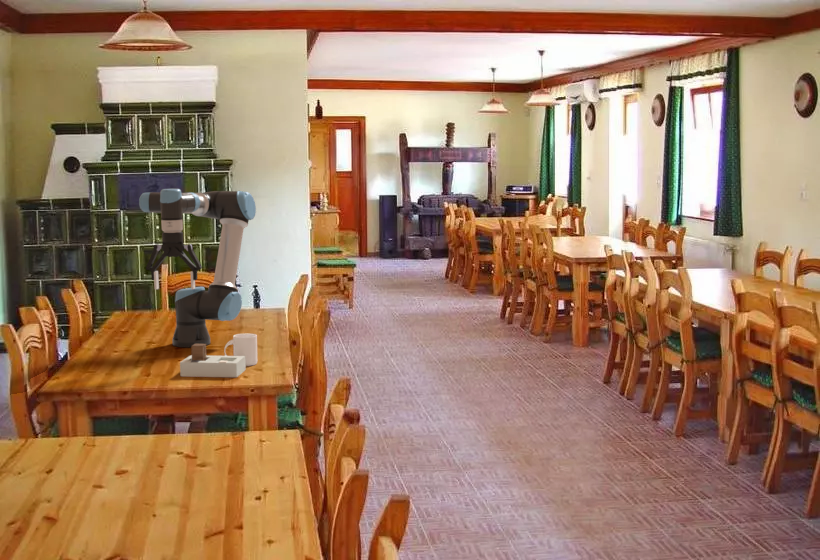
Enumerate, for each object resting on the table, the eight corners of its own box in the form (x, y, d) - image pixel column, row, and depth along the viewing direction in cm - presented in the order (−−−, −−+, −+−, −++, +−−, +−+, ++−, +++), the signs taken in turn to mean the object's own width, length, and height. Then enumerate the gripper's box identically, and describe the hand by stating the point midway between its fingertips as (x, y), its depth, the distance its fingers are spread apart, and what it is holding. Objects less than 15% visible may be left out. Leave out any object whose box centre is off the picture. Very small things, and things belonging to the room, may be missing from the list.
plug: (195, 368, 340) (194, 343, 339) (206, 368, 340) (205, 343, 339) (192, 371, 336) (191, 345, 335) (203, 371, 336) (202, 346, 335)
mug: (223, 362, 354) (222, 334, 353) (256, 361, 357) (255, 332, 356) (225, 367, 346) (224, 338, 345) (258, 365, 349) (258, 336, 348)
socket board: (191, 368, 344) (190, 354, 344) (245, 369, 343) (245, 355, 342) (180, 376, 332) (179, 361, 332) (236, 377, 331) (236, 362, 330)
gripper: (135, 232, 345) (138, 290, 348) (203, 232, 344) (205, 290, 347) (142, 230, 352) (144, 287, 355) (208, 230, 351) (211, 287, 354)
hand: (175, 289), depth 351 cm, fingers open, 13 cm apart
